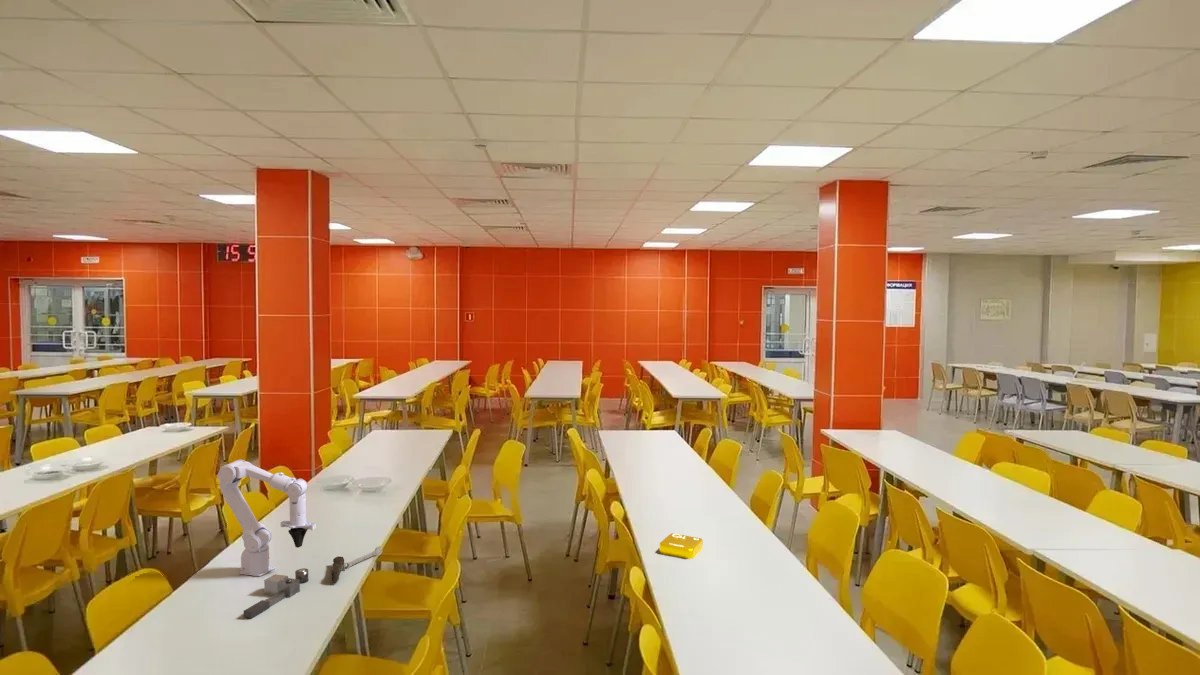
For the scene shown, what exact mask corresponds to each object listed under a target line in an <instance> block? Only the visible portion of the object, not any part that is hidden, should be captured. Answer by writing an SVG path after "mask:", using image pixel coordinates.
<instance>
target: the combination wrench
mask: <svg viewBox="0 0 1200 675" xmlns="http://www.w3.org/2000/svg"><path fill="white" fill-rule="evenodd" d="M381 548H382V546H381V545H378V546H376V547H375V549H374V550H373V551H372V552H369V553H367V554H366V555H365V554H364V555H363V556H360V557H358V558H356V559H354V560H352V561H348V562H344V564H343V566H342V568H341V570H343V571H347V570H349V568H350V567H352V566H353V565H357V564H358V563H361V562H363V561H365V560H367V559H368V558H372V557H373V556H376V557H379V556H381V554H382V553H383V550H380V549H381ZM379 550H380V551H379ZM346 565H347V566H346ZM345 566H346V568H345Z"/></svg>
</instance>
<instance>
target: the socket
mask: <svg viewBox="0 0 1200 675" xmlns="http://www.w3.org/2000/svg"><path fill="white" fill-rule="evenodd" d="M294 575H295V576H294V579H300V585H301V584H303V585H304V584H305V583H308V582H309V569H308V568H299V569H296V570H295V574H294Z"/></svg>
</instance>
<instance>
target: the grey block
mask: <svg viewBox="0 0 1200 675" xmlns="http://www.w3.org/2000/svg"><path fill="white" fill-rule="evenodd" d="M287 578H289V576H288V575H284V574H277V573H275V574H273V575H271V576H269V577H267V578H266V579H264V581H263V582H264V595H268V596H273V595H275V594H276V593H278V583H280V582H282V581H283V580H285V579H287Z"/></svg>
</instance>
